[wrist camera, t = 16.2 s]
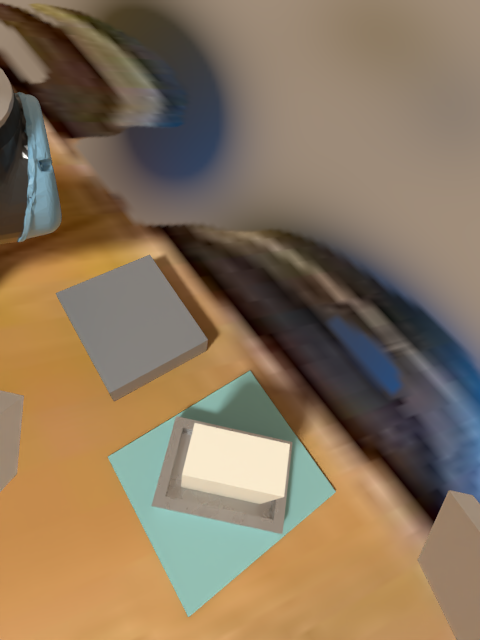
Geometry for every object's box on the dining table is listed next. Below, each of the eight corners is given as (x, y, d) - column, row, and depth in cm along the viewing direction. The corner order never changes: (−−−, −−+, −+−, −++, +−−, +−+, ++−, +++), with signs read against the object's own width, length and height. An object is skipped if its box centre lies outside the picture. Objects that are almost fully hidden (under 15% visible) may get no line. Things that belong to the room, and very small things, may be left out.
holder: (276, 533, 37) (282, 533, 35) (152, 506, 37) (151, 505, 35) (286, 446, 41) (292, 442, 39) (176, 421, 41) (175, 416, 39)
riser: (113, 401, 41) (109, 393, 39) (62, 306, 46) (55, 293, 43) (206, 350, 46) (208, 339, 43) (151, 268, 50) (149, 254, 48)
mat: (188, 616, 33) (188, 617, 33) (108, 457, 38) (107, 456, 38) (334, 492, 40) (335, 491, 40) (249, 371, 45) (249, 370, 45)
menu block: (259, 504, 37) (284, 497, 29) (181, 487, 37) (181, 474, 28) (265, 462, 39) (290, 444, 31) (191, 446, 39) (194, 422, 30)
